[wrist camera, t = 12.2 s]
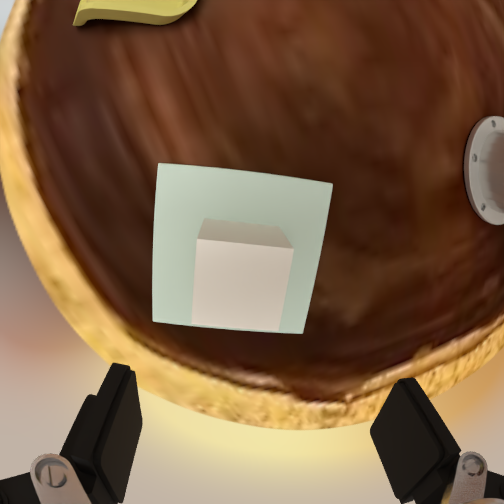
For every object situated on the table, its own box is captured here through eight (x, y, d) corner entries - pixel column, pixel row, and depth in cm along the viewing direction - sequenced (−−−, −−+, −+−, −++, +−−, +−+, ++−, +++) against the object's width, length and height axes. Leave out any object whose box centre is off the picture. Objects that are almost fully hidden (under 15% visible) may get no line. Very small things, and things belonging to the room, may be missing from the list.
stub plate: (329, 182, 25) (346, 188, 21) (300, 328, 29) (309, 352, 25) (161, 162, 23) (148, 164, 20) (155, 315, 28) (145, 339, 24)
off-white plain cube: (278, 226, 25) (294, 248, 19) (267, 293, 26) (278, 330, 21) (204, 218, 24) (196, 238, 18) (198, 287, 26) (191, 323, 20)
